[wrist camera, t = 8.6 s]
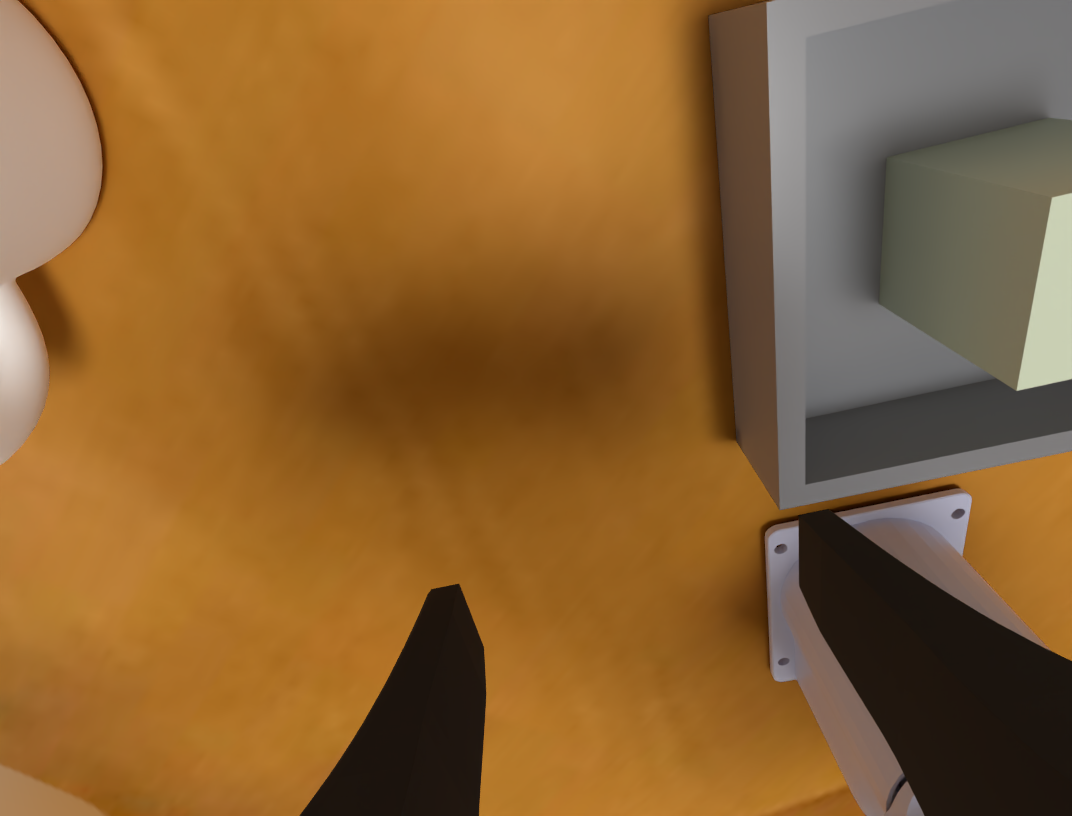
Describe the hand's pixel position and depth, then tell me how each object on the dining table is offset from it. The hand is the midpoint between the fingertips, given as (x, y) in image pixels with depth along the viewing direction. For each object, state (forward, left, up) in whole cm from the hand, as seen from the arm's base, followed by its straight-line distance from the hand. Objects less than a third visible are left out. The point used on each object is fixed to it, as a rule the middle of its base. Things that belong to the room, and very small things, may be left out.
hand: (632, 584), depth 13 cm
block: (+3, -12, -9) cm, 15 cm away
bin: (+3, -12, -9) cm, 16 cm away
